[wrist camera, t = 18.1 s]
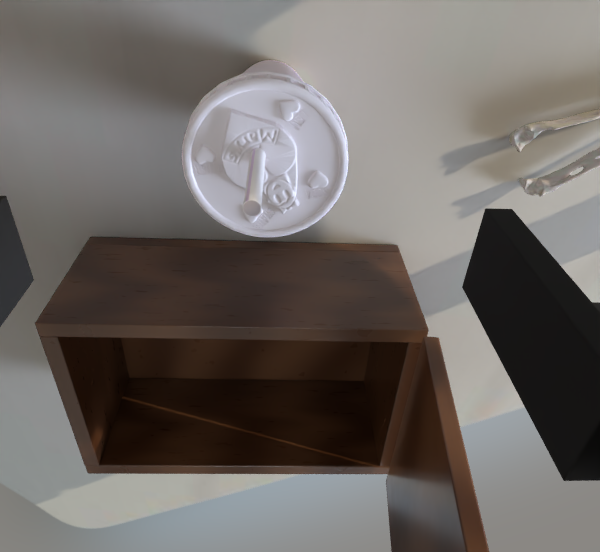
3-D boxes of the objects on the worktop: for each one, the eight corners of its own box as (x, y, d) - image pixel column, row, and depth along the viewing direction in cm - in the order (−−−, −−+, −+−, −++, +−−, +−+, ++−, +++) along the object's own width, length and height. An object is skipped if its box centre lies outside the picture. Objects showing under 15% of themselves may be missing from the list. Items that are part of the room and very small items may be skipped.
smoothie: (295, 5, 24) (306, 71, 12) (349, 120, 27) (398, 257, 16) (187, 71, 25) (107, 183, 14) (251, 172, 29) (229, 331, 17)
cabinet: (122, 376, 38) (87, 474, 31) (89, 236, 31) (34, 323, 24) (371, 380, 39) (390, 474, 32) (397, 244, 32) (429, 330, 25)
